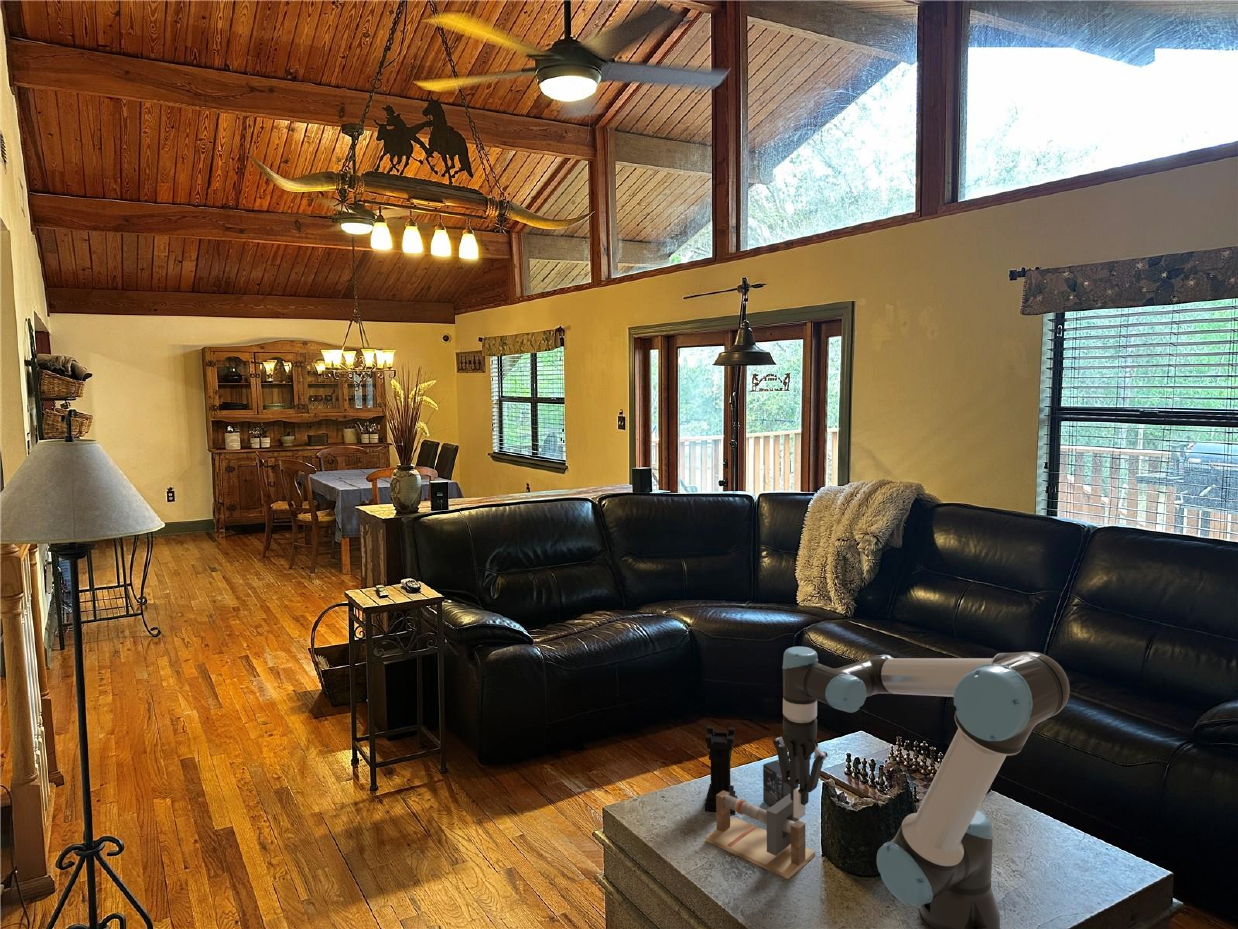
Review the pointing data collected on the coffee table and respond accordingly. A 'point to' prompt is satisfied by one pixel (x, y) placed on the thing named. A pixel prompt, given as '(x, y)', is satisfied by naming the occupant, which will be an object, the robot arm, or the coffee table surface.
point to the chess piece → (719, 765)
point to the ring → (779, 825)
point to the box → (774, 783)
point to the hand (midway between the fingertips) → (799, 815)
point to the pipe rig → (757, 837)
